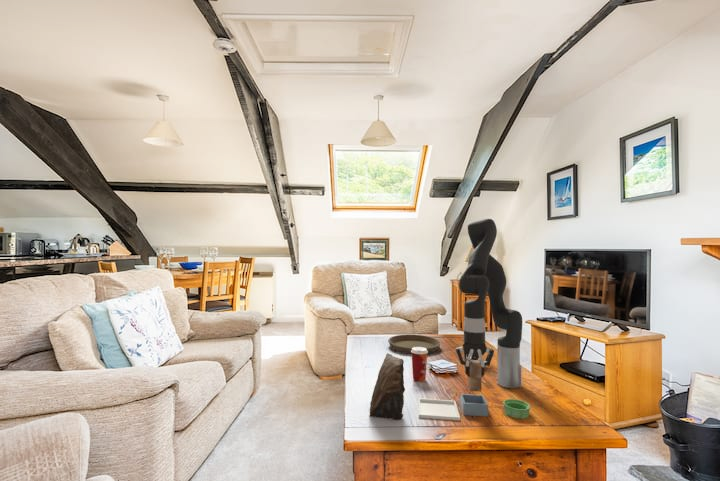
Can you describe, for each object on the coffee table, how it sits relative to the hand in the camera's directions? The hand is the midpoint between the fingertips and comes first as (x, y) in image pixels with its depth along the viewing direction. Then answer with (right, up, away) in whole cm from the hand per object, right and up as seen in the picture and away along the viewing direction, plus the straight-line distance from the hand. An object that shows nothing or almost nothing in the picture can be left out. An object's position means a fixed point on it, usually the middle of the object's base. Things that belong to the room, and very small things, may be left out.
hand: (474, 375), depth 135 cm
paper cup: (-15, -14, +33) cm, 39 cm away
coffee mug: (+18, -15, +57) cm, 61 cm away
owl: (-33, -13, -1) cm, 35 cm away
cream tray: (-14, -13, 0) cm, 19 cm away
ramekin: (+14, -14, -2) cm, 20 cm away
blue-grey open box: (0, -14, 0) cm, 14 cm away
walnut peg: (0, -5, 0) cm, 5 cm away
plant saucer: (-10, -15, +86) cm, 88 cm away
